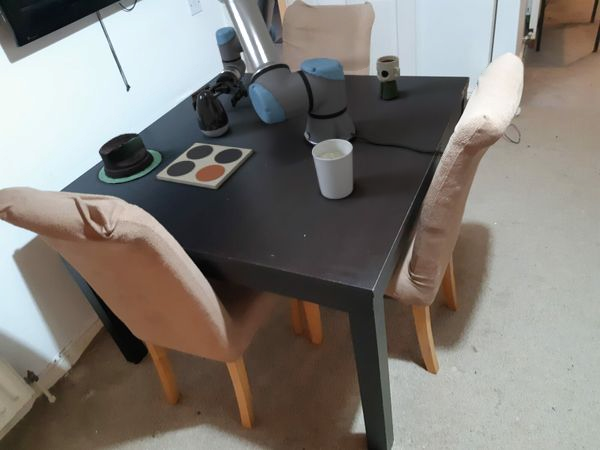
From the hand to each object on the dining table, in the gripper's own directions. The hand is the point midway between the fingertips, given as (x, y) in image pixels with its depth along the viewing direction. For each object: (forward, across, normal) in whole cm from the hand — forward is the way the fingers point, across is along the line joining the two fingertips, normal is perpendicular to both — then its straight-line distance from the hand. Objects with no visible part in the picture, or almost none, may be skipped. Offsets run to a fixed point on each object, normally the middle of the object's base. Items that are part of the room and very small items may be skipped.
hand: (213, 105), depth 147 cm
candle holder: (+42, -43, -9) cm, 60 cm away
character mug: (-12, -58, -9) cm, 60 cm away
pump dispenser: (+4, 0, -9) cm, 9 cm away
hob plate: (+25, -2, -8) cm, 26 cm away
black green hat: (+22, +24, -9) cm, 34 cm away
